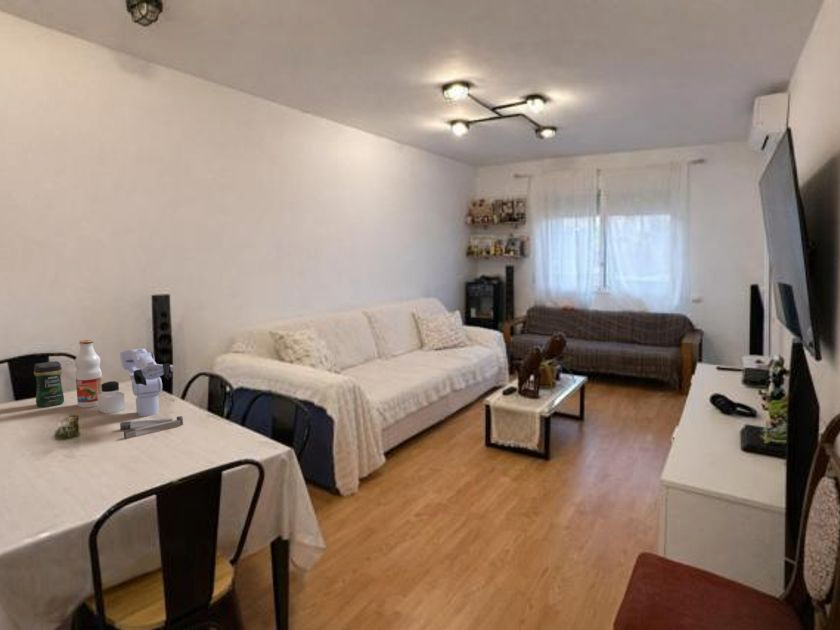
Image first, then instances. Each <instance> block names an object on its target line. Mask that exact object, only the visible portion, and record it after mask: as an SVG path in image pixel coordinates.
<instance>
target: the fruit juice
mask: <svg viewBox="0 0 840 630" xmlns="http://www.w3.org/2000/svg"><path fill="white" fill-rule="evenodd" d="M78 343H79V346H80V350H79V352H78V355H77V357H76V358H75V359H74V365H75V367H76V371H75V386H76V396H77V397H76V398H77V405H78V406H77V407H79V408H80V409H81V408H83V409H89V408H95V407H98V394H102V387H101V385H102V384H103V383H104V382H103V373H102V369H101V361H102V360H101V357H100V356H99V355H98V354H97V353H96V351H95V349H94V340H93V339H85V340H83V339H82V340H79V342H78Z"/></svg>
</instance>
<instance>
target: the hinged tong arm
mask: <svg viewBox="0 0 840 630" xmlns="http://www.w3.org/2000/svg"><path fill="white" fill-rule="evenodd" d="M170 421H174V419H173V417H170V418H159V419H158V418H157V419H148V420H147V419H146V420H145V419H144V420H134V421H121V422H120V423H119V424H120V431H125V430H126V431H129V430H134V429H138V428H143V427H147V426H152V425H156V424H161V423H165V422H170Z"/></svg>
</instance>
